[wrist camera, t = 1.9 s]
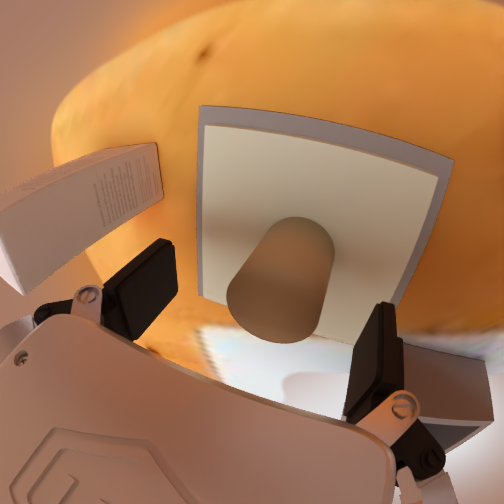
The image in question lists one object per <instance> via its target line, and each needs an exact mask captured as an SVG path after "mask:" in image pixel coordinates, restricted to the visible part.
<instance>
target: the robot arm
mask: <svg viewBox="0 0 504 504" xmlns="http://www.w3.org/2000/svg"><path fill="white" fill-rule="evenodd" d="M103 285H104V288H103V289H102V290H101V288H99V287H98V286H96V285H87V286H84V287H81V288H80V289H79V290H77V292H76V293H75V295H74V298H73V299H70V300H65V301H59V302H53V303H47V304H44V305H42V306H40V307H39V308H38V309H37V310H36V311H35V313H34V316H33V317H32V315H28V316H26V317H24V318H22V319H19V320H17V321H15V322H12V323H10V324H8V325H6V326H4V327H2V328H1V329H0V504H392V501H393V496H394V490H395V486H397V487H399V488H400V491H401V495H400V499H401V504H458V501H457V498H456V495H455V492H454V489H453V486H452V483H451V480H450V477H449V475H448V472H446V473H445V472H444V469H443V467H444V465H445V462H446V455H445V451H444V450H443V448H442V447H441V445H440V444H439V443H438V442H437V441H436V439H435V438H434V437H433V436H432V434H431V433H430V432H429V431H428V430H427V428H426V427H425V426H424V425H423V424H422V422H421V421H420V420H419V419H418V416H419V414H420V404H419V401H418V399H417V398H416V397H415V395H413V394H412V393H411V392H408V391H404V349H403V339H402V338H400V337H397V328H396V313H395V305H394V304H392V303H388V302H384V301H382V302H381V303H380V304H378V303H376V305H375V307H374V309H373V311H372V313H371V315H370V317H369V319H368V321H367V323H366V325H365V327H364V328H363V330H362V332H361V334H360V336H359V338H358V340H357V341H356V343H355V346H354V349H353V354H352V362H351V369H350V376H349V383H348V389H347V395H346V401H345V406H344V411H343V416H347V417H346V422H344V421H341V420H337V419H334V418H330V417H327V416H323V415H319V414H315V413H312V412H308V411H305V410H301V409H298V408H294V407H291V406H288V405H284V404H281V403H278V402H275V401H271V400H268V399H265V398H262V397H259V396H256V395H253V394H251V393H248V392H245V391H242V390H239V389H237V388H234V387H231V386H229V385H226V384H223V383H221V382H218V381H216V380H213V379H211V378H208V377H206V376H203V375H201V374H199V373H196V372H194V371H192V370H189V369H187V368H185V367H183V366H180V365H178V364H176V363H174V362H172V361H170V360H167V359H165V358H163V357H161V356H159V355H157V354H155V353H153V352H151V351H149V350H147V349H145V348H143V347H141V346H139V345H137V344H135V343H133V341H134V340H137V339H138V338H139V337H140V336H141V335H142V334H143V333H144V331H145V330H146V329H147V328H148V327H149V326H150V324H151V323H152V322H153V321H154V320H155V319H156V317H157V316H158V315H159V314H160V313H161V312H162V311H163V309H164V308H165V307H166V306H167V305H168V304H169V303H170V301H171V300H172V299H173V298H174V297H175V296H176V294H177V292H178V282H177V271H176V259H175V247H174V245H172V242H171V241H169V240H166V239H162V238H159V239H157V240H156V241H155V242H154V243H152V244H151V245H150V246H149V247H147V248H146V249H145V250H144V251H142V252H141V253H140V254H139V255H138V256H136V257H135V258H134V259H133V260H131V261H130V262H129V263H128V264H127V265H125V266H124V267H123V268H122V269H121V270H120V271H118V272H117V273H116V274H115V275H114V276H112V277H111V278H110V279H109V280H108V281H107V282H106V283H104V284H103Z"/></svg>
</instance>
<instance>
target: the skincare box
mask: <svg viewBox="0 0 504 504" xmlns="http://www.w3.org/2000/svg"><path fill="white" fill-rule="evenodd" d="M163 196H164V194H163V189H162V183H161V176H160V169H159V161H158V153H157V146H156V143H147V144H138V145H130V146H123V147H116V148H109V149H103V150H99V151H97V152H94V153H91V154H88V155H86V156H83V157H80V158H78V159H75V160H73V161H70V162H67V163H65V164H63V165H60V166H58V167H56V168H53V169H52V170H49V171H47V172H45V173H42V174H40V175H38V176H36V177H34V178H31V179H29V180H27V181H25V182H23V183H21V184H19V185H17V186H16V187H13V188H12V189H10V190H8V191H6V192H4V193H2V194H0V276H1V277H2V278H3V279H4V280H5V281H6V282H8V284H10V285H11V286H12V287H13V288H14V289H16V290H17V291H18V292H19V293H21V294H22V295H23V296H26V295H27V294H28V293H29V292H31V291H32V290H33V289H34V288H35V287H37V286H38V285H39V284H40V283H42V282H43V281H44V280H45V279H47V278H48V277H49V276H50V275H52V274H53V273H54V272H55V271H56V270H58V269H59V268H61V267H62V266H63V265H65V264H66V263H67V262H69V261H70V260H71V259H73V258H74V257H75V256H77V255H78V254H80V253H81V252H82V251H84V250H85V249H87V248H88V247H89V246H91V245H92V244H94V243H95V242H96V241H98V240H99V239H101V238H102V237H104V236H105V235H107V234H108V233H110V232H111V231H113V230H114V229H116V228H117V227H119V226H120V225H122V224H123V223H125V222H126V221H128V220H130V219H131V218H133V217H134V216H136V215H137V214H139V213H141V212H142V211H144V210H145V209H147V208H149V207H150V206H152V205H153V204H155V203H157V202H158V201H160V200H162V199H163Z"/></svg>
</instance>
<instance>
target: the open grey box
mask: <svg viewBox="0 0 504 504" xmlns="http://www.w3.org/2000/svg"><path fill="white" fill-rule="evenodd" d="M403 349H404V391H408V392H411V393H412V394H413V395H415V397H416V398H417V399H418V401H419V404H420V414H419V416H418V419H419V420H420V421H421V422H422V424H423V425H424V426H425V427H426V428H427V430H428V431H429V432H430V433H431V434H432V436H433V437H434V438H435V439H436V441H437V442H438V443H439V444H440V445H441V447H442V448H443V450H444V451H445V454H446V453H448V452H449V451H451V450H453V449H454V448H456V447H458V446H459V445H461V444H463V443H464V442H466V441H467V440H469V439H470V438H471V437H473V436H475V435H476V434H477V433H479V432H480V431H482V430H483V429H484V428H486V427H487V426H488V425H490V424H491V423H492V422H493V421H494V415H493V407H492V399H491V393H490V387H489V381H488V376H487V371H486V366H485V362H484V361H481V360H476V359H471V358H466V357H461V356H456V355H451V354H447V353H442V352H437V351H433V350H429V349H424V348H420V347H416V346H412V345H407V344H403ZM344 406H345V404H344ZM343 411H344V408H343ZM346 417H347V416H343V413H342V417H341V421H344V422H346Z"/></svg>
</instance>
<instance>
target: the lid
mask: <svg viewBox="0 0 504 504" xmlns="http://www.w3.org/2000/svg"><path fill="white" fill-rule="evenodd" d="M437 181H438V176H437V175H436V174H435V173H434V172H431V171H428V170H425V169H423V168H420V167H417V166H414V165H411V164H408V163H405V162H402V161H399V160H396V159H393V158H390V157H386V156H383V155H380V154H376V153H373V152H369V151H366V150H362V149H358V148H354V147H350V146H347V145H342V144H338V143H334V142H330V141H325V140H321V139H316V138H311V137H306V136H301V135H296V134H290V133H284V132H278V131H272V130H265V129H258V128H251V127H243V126H234V125H225V124H208V125H205V133H204V156H203V193H202V265H203V298H206V299H209V300H212V301H214V302H217V303H220V304H223V305H225V306H228V308H229V310H230V312H231V314H232V316H233V317H234V319H235V320H236V321H237V322H238V323H239V325H240V326H242V327H243V328H244V329H245V330H246V331H248V332H249V333H251V334H252V335H254V336H256V337H258V338H260V339H263V340H266V341H269V342H274V343H284V344H287V343H294V342H298V341H301V340H303V339H305V338H307V337H309V336H310V335H311V334H315V335H318V336H322V337H325V338H329V339H332V340H336V341H339V342H343V343H347V344H350V345H354V346H355V343H356V341H357V340H358V338H359V336H360V334H361V332H362V330H363V328H364V327H365V325H366V323H367V321H368V319H369V317H370V315H371V313H372V311H373V309H374V307H375V305H376V303H378V304H380V303H381V302H382V301H384V302H388V303H389V302H390V300H391V298H392V296H393V294H394V292H395V290H396V288H397V286H398V283H399V281H400V279H401V277H402V275H403V273H404V270H405V268H406V266H407V264H408V261H409V259H410V257H411V254H412V252H413V249H414V247H415V244H416V242H417V239H418V237H419V234H420V232H421V229H422V226H423V224H424V221H425V218H426V215H427V212H428V209H429V206H430V203H431V200H432V197H433V194H434V191H435V188H436V184H437Z"/></svg>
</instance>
